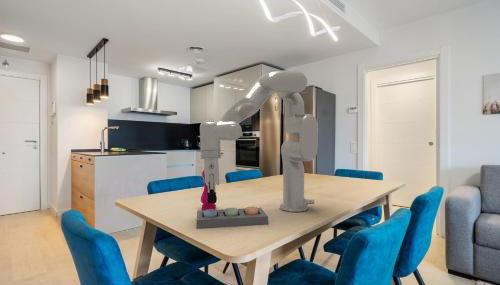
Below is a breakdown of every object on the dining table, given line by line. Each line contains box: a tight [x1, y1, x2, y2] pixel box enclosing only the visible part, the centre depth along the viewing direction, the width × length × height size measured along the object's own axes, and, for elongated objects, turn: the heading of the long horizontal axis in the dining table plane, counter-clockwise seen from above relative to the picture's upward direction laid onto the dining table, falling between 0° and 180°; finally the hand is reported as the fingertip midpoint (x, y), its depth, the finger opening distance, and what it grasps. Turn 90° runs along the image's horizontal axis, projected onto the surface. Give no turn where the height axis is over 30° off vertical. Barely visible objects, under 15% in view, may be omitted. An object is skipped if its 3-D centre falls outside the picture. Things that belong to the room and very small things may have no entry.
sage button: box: [224, 207, 239, 216], centre depth 99 cm, size 5×5×3 cm
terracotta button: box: [244, 206, 259, 215], centre depth 100 cm, size 5×5×3 cm
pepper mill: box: [200, 169, 218, 211], centre depth 116 cm, size 7×7×20 cm
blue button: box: [203, 209, 218, 217], centre depth 97 cm, size 5×5×3 cm
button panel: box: [196, 207, 269, 230], centre depth 99 cm, size 26×12×3 cm, turn 101°
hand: (211, 202), depth 98 cm, fingers closed
